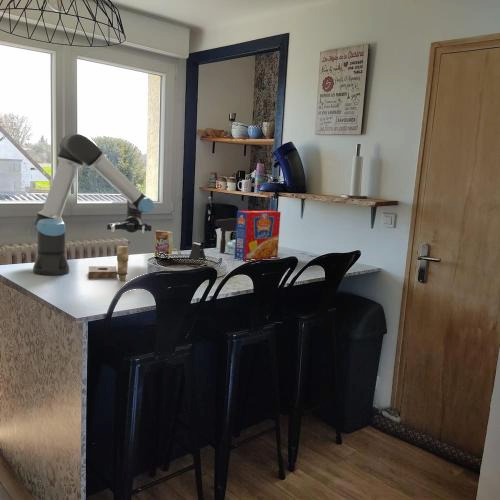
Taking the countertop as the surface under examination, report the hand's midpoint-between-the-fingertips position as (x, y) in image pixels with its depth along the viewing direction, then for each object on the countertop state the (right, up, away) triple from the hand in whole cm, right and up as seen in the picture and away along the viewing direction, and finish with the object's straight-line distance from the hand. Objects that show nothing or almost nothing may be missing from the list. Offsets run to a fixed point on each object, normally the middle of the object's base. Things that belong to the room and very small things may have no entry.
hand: (127, 229), depth 222 cm
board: (-11, -21, -2) cm, 23 cm away
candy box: (+7, -14, +49) cm, 52 cm away
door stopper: (+28, -18, +35) cm, 48 cm away
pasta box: (+59, -15, +67) cm, 91 cm away
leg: (0, -23, -8) cm, 24 cm away
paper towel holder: (+46, -10, +89) cm, 100 cm away
